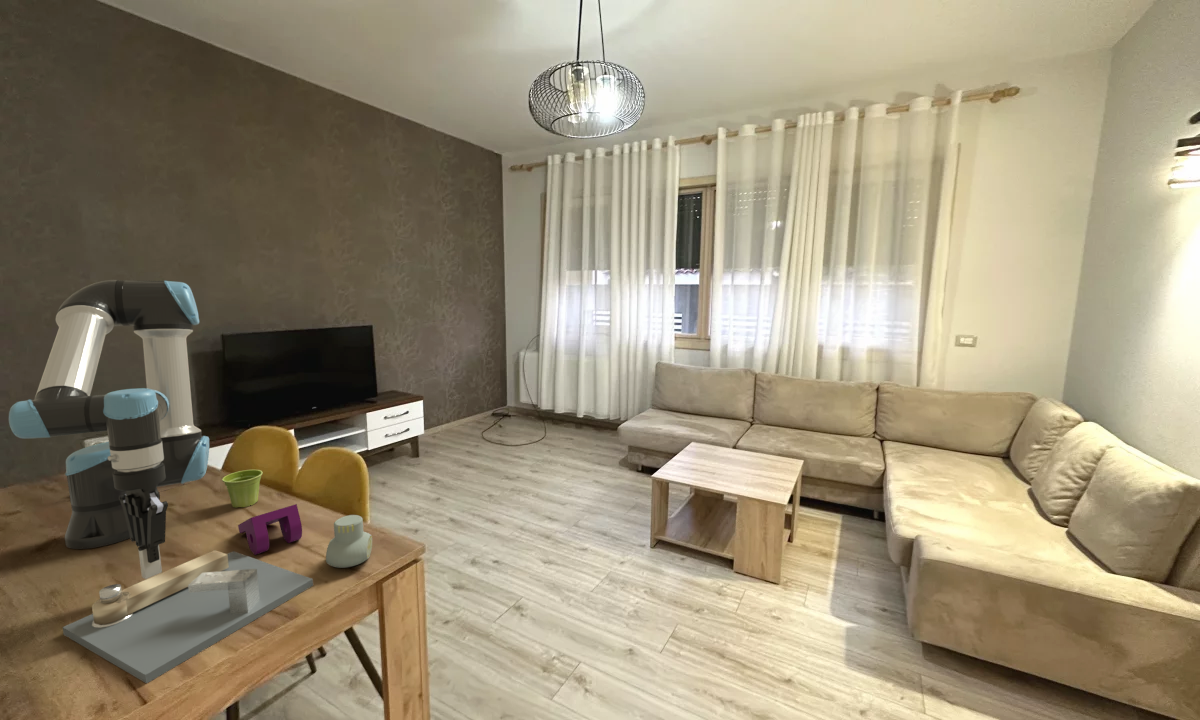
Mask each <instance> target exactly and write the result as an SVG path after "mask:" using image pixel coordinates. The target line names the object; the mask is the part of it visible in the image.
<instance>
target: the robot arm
mask: <svg viewBox="0 0 1200 720" xmlns="http://www.w3.org/2000/svg"><path fill="white" fill-rule="evenodd" d="M192 291H193V290H192V288H191V286H189V284H187V283H186V282H182V281H174V280H173V281H170V280H126V279H125V280H121V279H120V280H119V279H108V280H102V281H97V282H94V283H92V284H89V285H86V286H84V287H82V288H81V289H78V290H77V291H75V292H73V293H72V294H71V295H70V296H68V297H67V298H66V299H65V300H64V301H63V303H62V304H61V305H60V306H59V308H58V310H57V313H56V315H55V323H56V326H58V330H57V333H56V336H55V339H54V342H53V343H52V347H51V350H50V353H49V356H48V359H47V360H46V361H47V362H46V364H45V367H44V371H43V373H42V376H41V378H40V379H41V380H40V381H39V385H38V388H37V390H36V394H35V396H34V399H27V400H21V401H16V402H15V403H14V404H12V406H11V407H10V408H9V411H8V423H9V424H8V425H9V427H10V429H11V432H12V433H13V435H14V436H15V437H17V438H19V439H43V438H48V439H49V438H52V437H62V436H67V435H68V436H69V435H77V434H85V433H87V434H88V433H94V432H95V433H96V432H105V431H106V432H107V438H108V441H106V442H101V443H97V444H94V445H89V446H86V447H83V448H81V449H78V450H76V451H73V452H72V453H71V454H69V455H68V456H67V457H66V459H65V470H66V471H65V473H64V474H65V476H66V479H67V480H66V481H67V487H68V494H69V499H70V505H71V516H70V519H69V521H68V525H67V528H66V532H65V534H64V541H65V546H66V548H69V549H74V550H83V549H84V550H85V549H93V548H100V547H104V546H109V545H112V544H116V543H120V542H123V541H126V540H129V539H130V541H131V542H132V543H133V542H135V545H136V546H137V549H138V550H137V551H138V557H139V564H140V565H139V566H140V573H141V578H143V579H144V580H146V579H149V578H151V577H153V576H156V575H158V574H160V573H163V568H162V558H161V553H160V545H162V544H165V543H166V531H167V530H166V527H167V526H166V525H167V523H166V522H167V521H166V520H167V509H168V507H169V503H168V501H166V500H165V501H162V502H161V495H160V494H161V493H160V492H158V489H157V487H160V486H166V485H172V484H178V483H181V484H184V483H185V482H190V483H191V482H195V481H199V480H201V479H203V478H204V476H205V475H206V472H207V468H208V465H209V464H208V463H209V458H210V457H209V456H210V454H209V453H210V438H209V436H206V435H202V434H203V433H202V429H200V428H199V427H197V426H195V425H194V416H193V415H194V414H193V405H192V392H191V382H190V381H191V379H190V369H189V359H188V358H189V357H188V356H189V355H188V345H187V337H188V336H190V335H191V334H192V333H193V332H194V329H193V326H197V325H199V324H200V318H199V311H198V307H197V303H196V299H195V297H194V294H193V292H192ZM118 326H124V327H129V326H132V327H133V333H134V334H135V335H137V336H139V338H141V339H142V347H143V361H144V371H145V372H144V373H145V382H146V388H145V387H141V388H139V387H138V388H126V389H120V390H115V391H111V392H108V393H106V394H99V395H98V394H97V395H91V393H92V390H93V387H94V385H93V384H94V382H95V377H96V375H97V371H98V365H99V362H100V357H101V354H102V351H103V347H104V343H105V338H106V335H107V334H110V332H112V330H113V329H114V327H118ZM184 485H185V484H184Z"/></svg>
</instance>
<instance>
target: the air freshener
mask: <svg viewBox="0 0 1200 720" xmlns="http://www.w3.org/2000/svg"><path fill="white" fill-rule="evenodd" d="M363 519H364V518H363V517H362V516H360V515H358V514H349V515H345V516H342V517H340V518H338V519H336V520H335V522H334V523H333V532H334V533H333V535H334V537H333V538H331V539H330V541H329V543H328V545H327V547H326V552H325V562H326V564H328V565H329V566H331V567H333V568H340V569H341V568H342V569H345V568H351V567H355V566H358V565H360V564H362V563H364V562H365V561H367V560H368V559H369V558H370V557H371V553H372V548H373V535H372V534H370V533H369V532H368V531H367V532H366V531H364V520H363Z"/></svg>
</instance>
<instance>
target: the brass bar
mask: <svg viewBox="0 0 1200 720" xmlns="http://www.w3.org/2000/svg"><path fill="white" fill-rule="evenodd" d="M227 554H228V553H224V552H221V551H218V550H215V549H214V550H212V551H210V552H207V553H204V554H203V555H200V556H198V557H195V558H193V559H191V560H188V561H187V562H186V561H185V562H184V563H181V564H179V565H176V566H175V567H172V568H170V569H168V570H165V571H162V572H161V573H159V574H157V575H154V576H152V577H150V578H147V579H144V580H141V581H140V582H138V583H135V584H132V585H131V586H127V587H126V588H124V589H122V597H121V598H120V599H118V600H116V601H113V602H110V603H105V604H103V603H101V602H100V598H99V599H97V600H96V601H94V603H92V606H91V609H92V610H91V611H92V614H93V617H94V623H95V624H107V623H111V622H114V621H117V620H119V619H122V618H124V617H125V616H127V615H129V614H131V613H133V612H135V611H137V610H139V609H141V608H144V607H146V606H148V605H150V604H152V603H154V602H156V601H158V600H161V599H163V598H165V597H167V596H169V595H171V594H173V593H175V592H178V591H180V590H182V589H184V588H186V587H188V585H189V584H190V583H191V582H192V581H193V580H195V579H196V578H197V577H198V576H199V575H200V574H201V573H205V572H219V571H222V570H224V569H227V568H229V565H228V555H227Z"/></svg>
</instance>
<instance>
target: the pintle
mask: <svg viewBox="0 0 1200 720" xmlns="http://www.w3.org/2000/svg"><path fill="white" fill-rule="evenodd" d="M122 590H123V589H122V585H121V584H120V583H114V584H110V585H107V586H105V587H102V588H101V589H100V590H99V592H98V593H99V599H100V602H101V603H103V604H105V603H110V602H113V601H116V600H118V599H120V598H121V597H122ZM134 613H135V612H133V613H131V614H129V615H127V616H125V617H124V618H122V619H119V620H117V621H114V622H111V623H107V624H95V623H94V621H93V622H92V626H93V627H94V628H105V627H109V626H113V625H116V624H118V623H121V622H123V621H125V620H126V619H128V618H130V617H131V616H132V615H133V614H134Z"/></svg>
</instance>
